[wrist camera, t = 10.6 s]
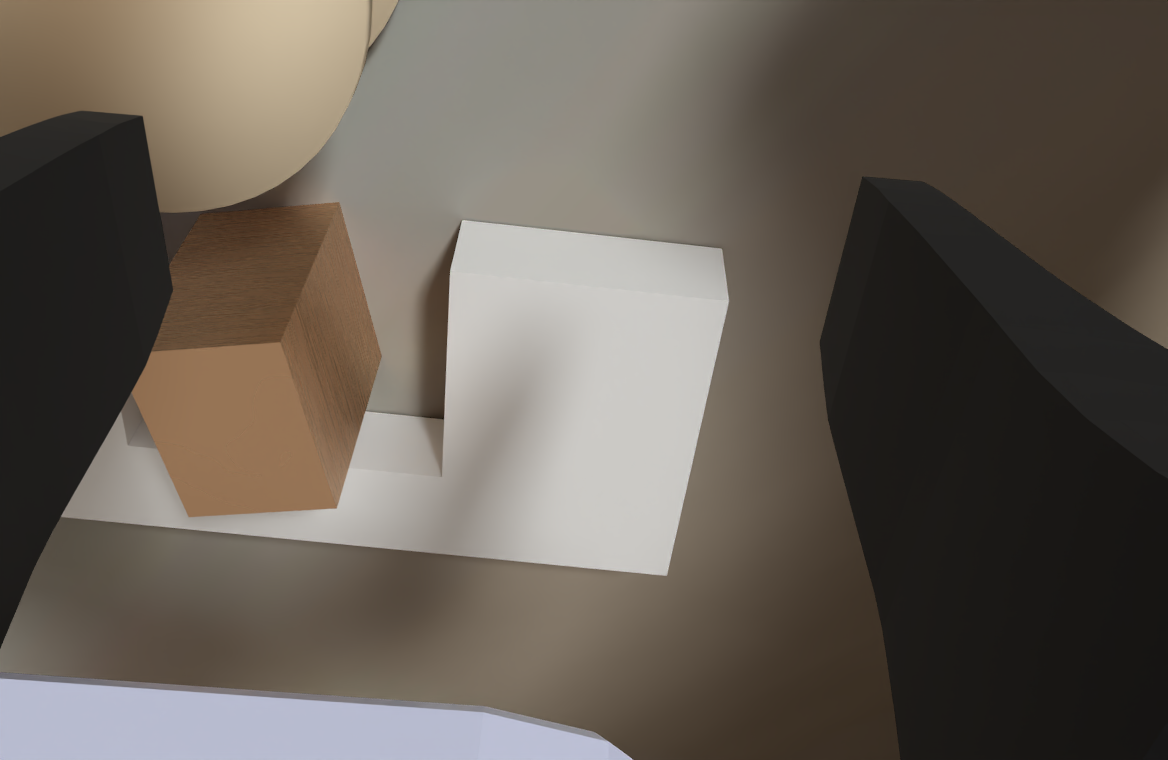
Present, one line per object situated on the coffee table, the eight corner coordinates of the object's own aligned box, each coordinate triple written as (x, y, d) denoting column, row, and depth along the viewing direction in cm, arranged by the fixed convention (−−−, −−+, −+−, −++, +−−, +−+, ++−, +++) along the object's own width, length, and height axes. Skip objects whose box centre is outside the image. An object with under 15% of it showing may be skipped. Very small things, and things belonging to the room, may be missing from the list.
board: (721, 248, 23) (729, 301, 22) (664, 516, 28) (666, 575, 27) (-49, 163, 23) (-100, 211, 21) (29, 453, 28) (-8, 510, 26)
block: (339, 201, 23) (279, 342, 19) (382, 355, 25) (336, 508, 22) (200, 213, 23) (114, 354, 19) (255, 364, 26) (188, 517, 22)
